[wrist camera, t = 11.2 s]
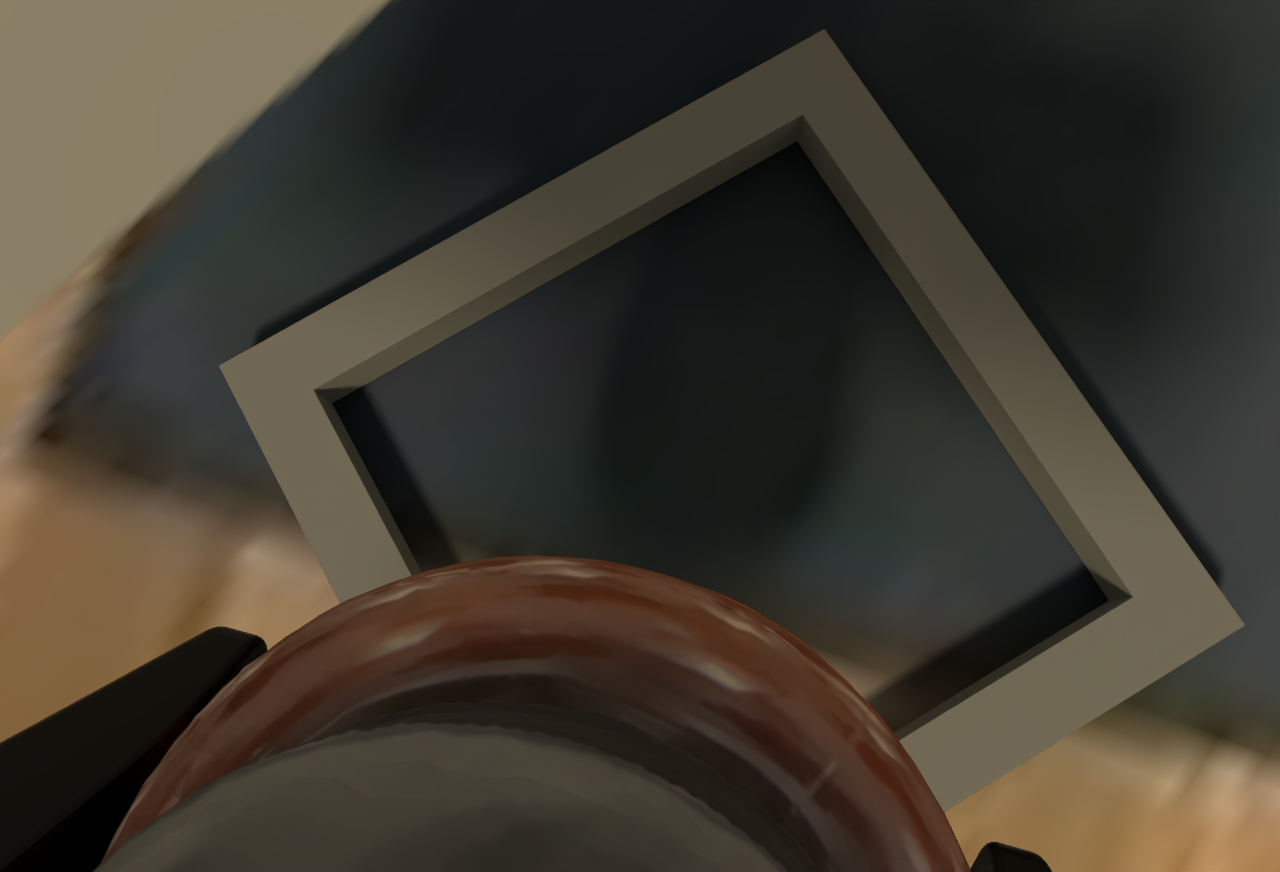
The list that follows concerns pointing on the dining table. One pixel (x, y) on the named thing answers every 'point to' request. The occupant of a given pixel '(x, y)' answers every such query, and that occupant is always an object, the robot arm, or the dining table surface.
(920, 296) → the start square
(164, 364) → the dining table surface
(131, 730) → the robot arm
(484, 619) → the supplement bottle
